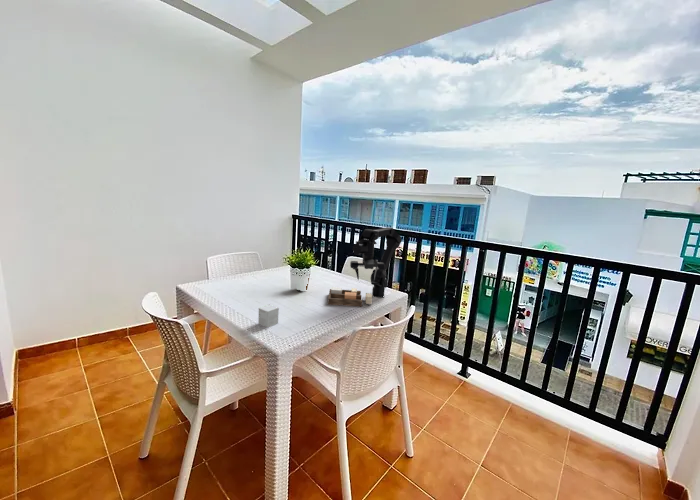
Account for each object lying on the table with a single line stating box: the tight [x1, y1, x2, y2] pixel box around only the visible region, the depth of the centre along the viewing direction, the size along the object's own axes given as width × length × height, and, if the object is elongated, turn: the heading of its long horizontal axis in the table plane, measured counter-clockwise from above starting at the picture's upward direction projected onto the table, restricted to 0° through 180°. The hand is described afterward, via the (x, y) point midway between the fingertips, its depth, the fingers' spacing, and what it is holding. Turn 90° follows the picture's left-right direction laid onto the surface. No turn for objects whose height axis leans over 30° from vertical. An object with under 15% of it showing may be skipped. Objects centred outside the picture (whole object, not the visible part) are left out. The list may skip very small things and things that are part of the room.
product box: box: [257, 303, 280, 329], centre depth 118 cm, size 6×6×7 cm
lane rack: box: [327, 288, 363, 307], centre depth 153 cm, size 18×16×3 cm
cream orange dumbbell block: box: [345, 292, 373, 305], centre depth 149 cm, size 14×6×4 cm, turn 91°
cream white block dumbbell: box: [330, 286, 358, 295], centre depth 156 cm, size 14×6×4 cm, turn 91°
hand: (366, 280), depth 153 cm, fingers open, 9 cm apart
